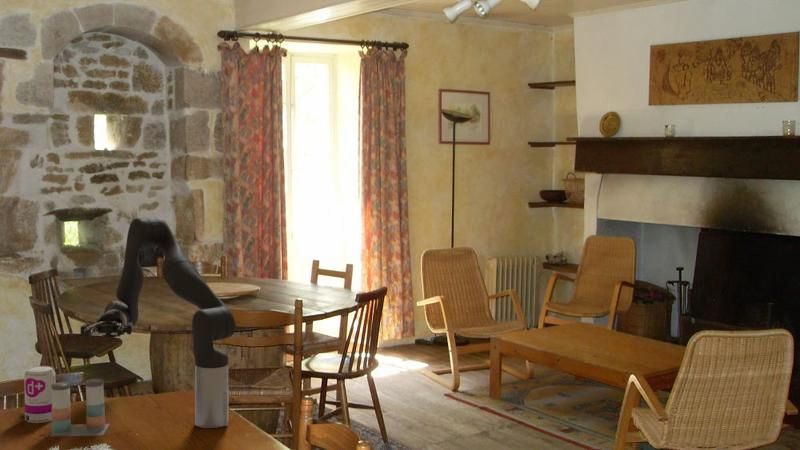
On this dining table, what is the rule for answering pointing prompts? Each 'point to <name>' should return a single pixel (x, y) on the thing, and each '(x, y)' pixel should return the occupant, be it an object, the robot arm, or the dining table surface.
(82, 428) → the slate card
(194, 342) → the robot arm
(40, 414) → the supplement can
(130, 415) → the dining table surface
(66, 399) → the twin tube
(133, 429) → the dining table surface
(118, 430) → the dining table surface
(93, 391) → the slim tube
